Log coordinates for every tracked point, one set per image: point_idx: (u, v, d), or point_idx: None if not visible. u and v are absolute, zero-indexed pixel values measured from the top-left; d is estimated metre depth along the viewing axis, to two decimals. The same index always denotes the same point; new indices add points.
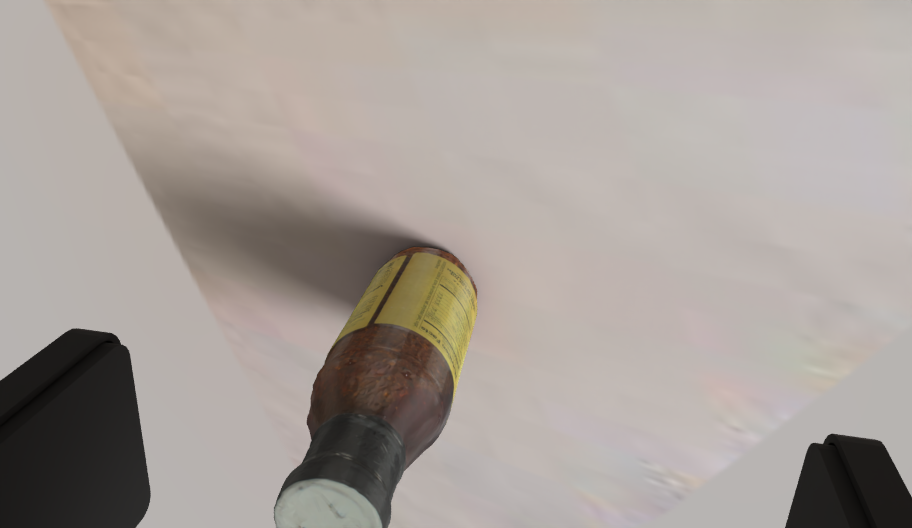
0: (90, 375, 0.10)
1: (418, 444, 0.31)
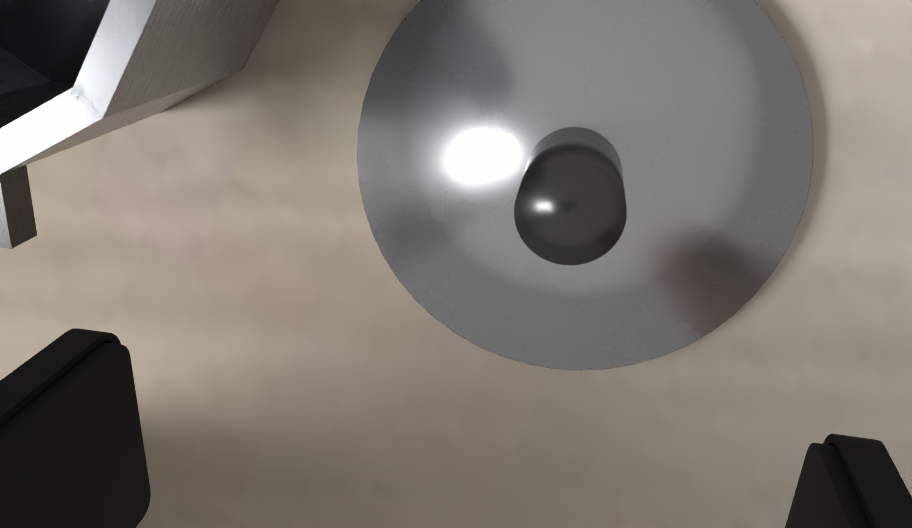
0: (90, 375, 0.10)
1: None
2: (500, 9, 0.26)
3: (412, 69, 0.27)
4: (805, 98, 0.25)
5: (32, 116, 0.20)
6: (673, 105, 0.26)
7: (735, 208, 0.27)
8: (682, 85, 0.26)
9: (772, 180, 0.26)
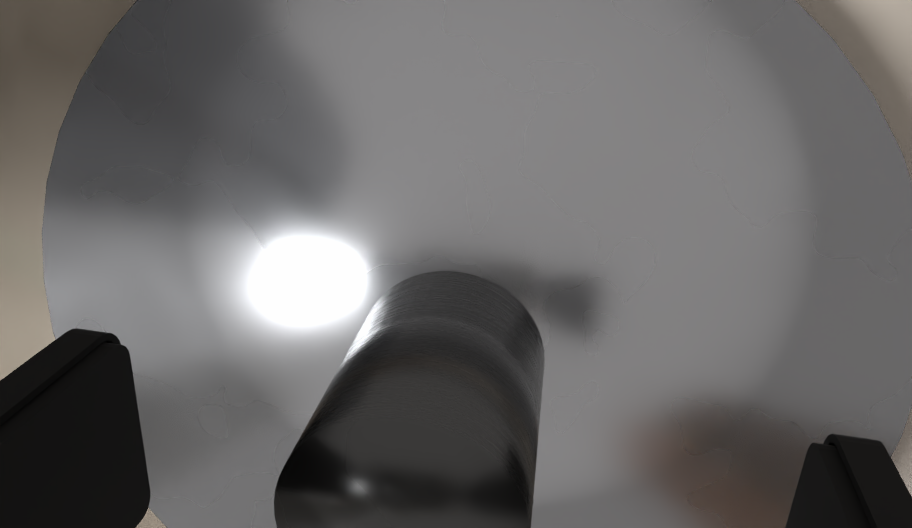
0: (90, 375, 0.10)
1: None
2: (266, 48, 0.12)
3: (118, 171, 0.14)
4: None
5: None
6: (636, 226, 0.13)
7: (771, 414, 0.14)
8: (652, 187, 0.12)
9: (845, 363, 0.13)
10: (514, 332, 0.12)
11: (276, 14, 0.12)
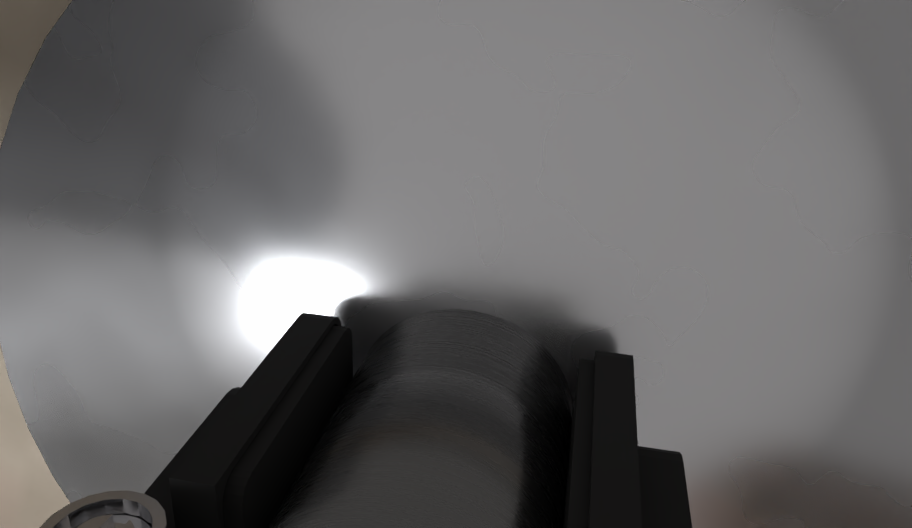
0: (333, 355, 0.10)
1: None
2: (228, 48, 0.10)
3: (68, 198, 0.12)
4: None
5: None
6: (683, 254, 0.10)
7: (853, 477, 0.11)
8: (703, 206, 0.10)
9: None
10: (535, 386, 0.10)
11: (238, 6, 0.10)
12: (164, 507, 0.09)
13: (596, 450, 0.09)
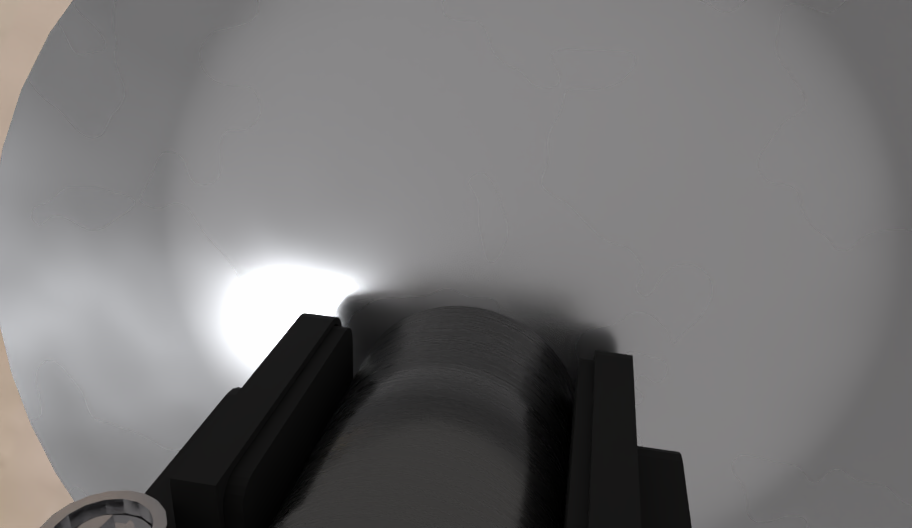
0: (333, 355, 0.10)
1: None
2: (232, 44, 0.10)
3: (72, 193, 0.12)
4: None
5: None
6: (687, 251, 0.10)
7: (857, 476, 0.11)
8: (708, 202, 0.10)
9: None
10: (538, 383, 0.10)
11: (243, 2, 0.10)
12: (165, 507, 0.09)
13: (595, 450, 0.09)
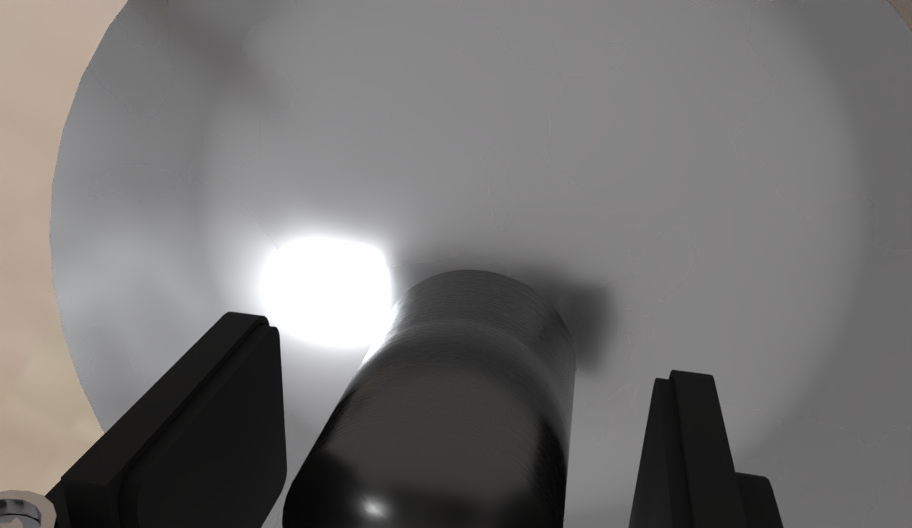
0: (254, 354, 0.10)
1: None
2: (272, 37, 0.12)
3: (124, 171, 0.13)
4: None
5: None
6: (673, 218, 0.12)
7: (825, 420, 0.12)
8: (690, 175, 0.11)
9: (907, 363, 0.12)
10: (542, 335, 0.12)
11: None
12: (66, 507, 0.08)
13: (693, 479, 0.08)
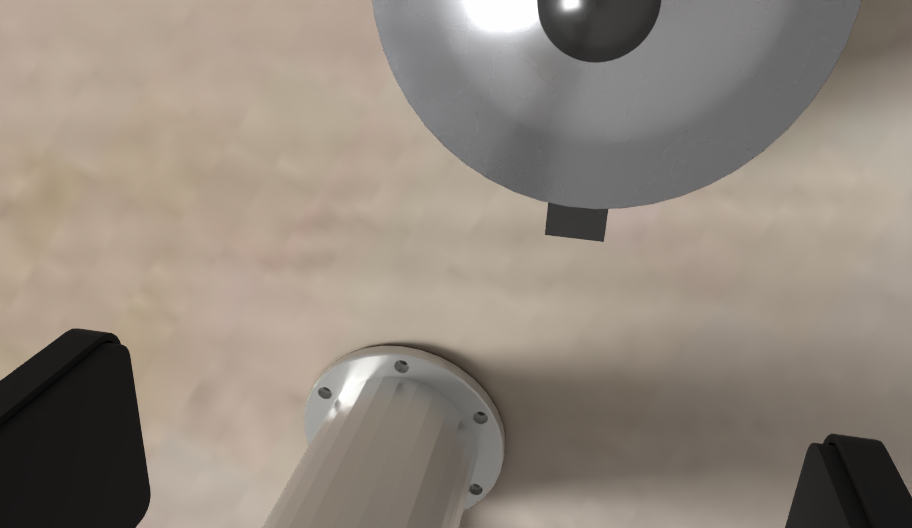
0: (90, 375, 0.10)
1: None
2: None
3: None
4: None
5: None
6: None
7: (785, 2, 0.24)
8: None
9: None
10: None
11: None
12: None
13: None
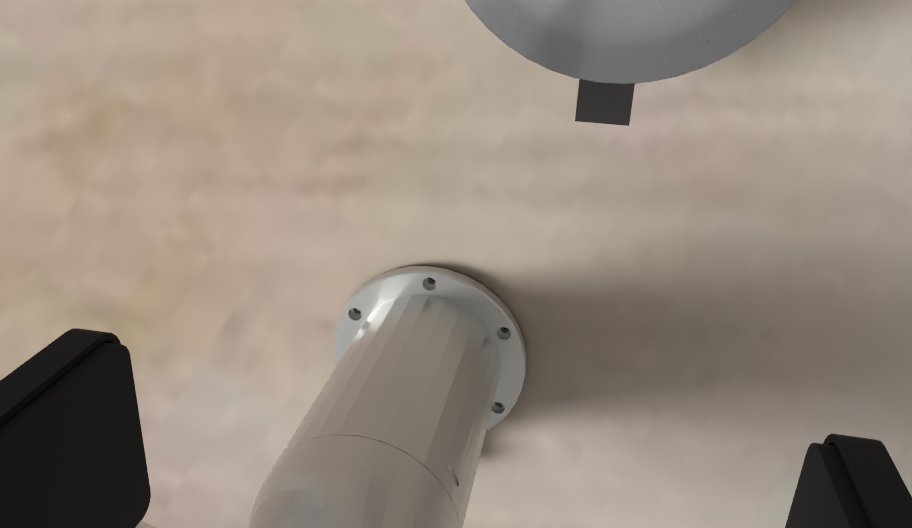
0: (90, 375, 0.10)
1: None
2: None
3: None
4: None
5: None
6: None
7: None
8: None
9: None
10: None
11: None
12: None
13: None
